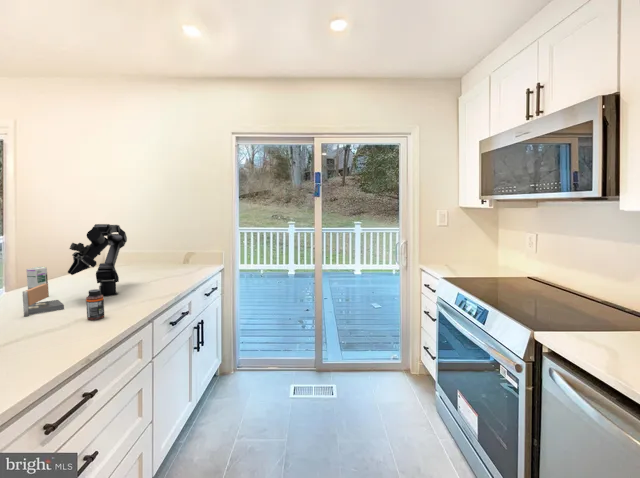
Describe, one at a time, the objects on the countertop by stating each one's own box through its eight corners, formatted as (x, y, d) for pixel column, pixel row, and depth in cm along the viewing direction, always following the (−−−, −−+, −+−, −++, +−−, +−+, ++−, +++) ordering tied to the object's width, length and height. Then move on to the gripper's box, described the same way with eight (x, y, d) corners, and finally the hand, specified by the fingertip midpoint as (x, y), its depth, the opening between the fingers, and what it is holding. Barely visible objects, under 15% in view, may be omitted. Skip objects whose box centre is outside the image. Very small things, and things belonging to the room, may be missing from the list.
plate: (58, 304, 168) (57, 282, 167) (65, 310, 158) (64, 287, 158) (19, 309, 158) (17, 286, 157) (24, 316, 149) (22, 292, 148)
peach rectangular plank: (48, 296, 165) (48, 283, 164) (29, 305, 151) (28, 290, 150) (45, 296, 165) (44, 283, 164) (25, 305, 150) (24, 290, 150)
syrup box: (38, 299, 176) (36, 268, 175) (27, 298, 178) (26, 268, 176) (49, 296, 182) (47, 266, 181) (39, 295, 183) (37, 266, 182)
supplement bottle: (91, 316, 151) (90, 288, 150) (107, 315, 151) (106, 288, 150) (83, 320, 145) (82, 292, 144) (99, 320, 145) (98, 291, 144)
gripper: (76, 235, 178) (49, 260, 171) (87, 237, 165) (58, 264, 158) (95, 250, 184) (70, 275, 177) (107, 253, 171) (80, 280, 164)
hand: (69, 273), depth 169 cm, fingers open, 5 cm apart
